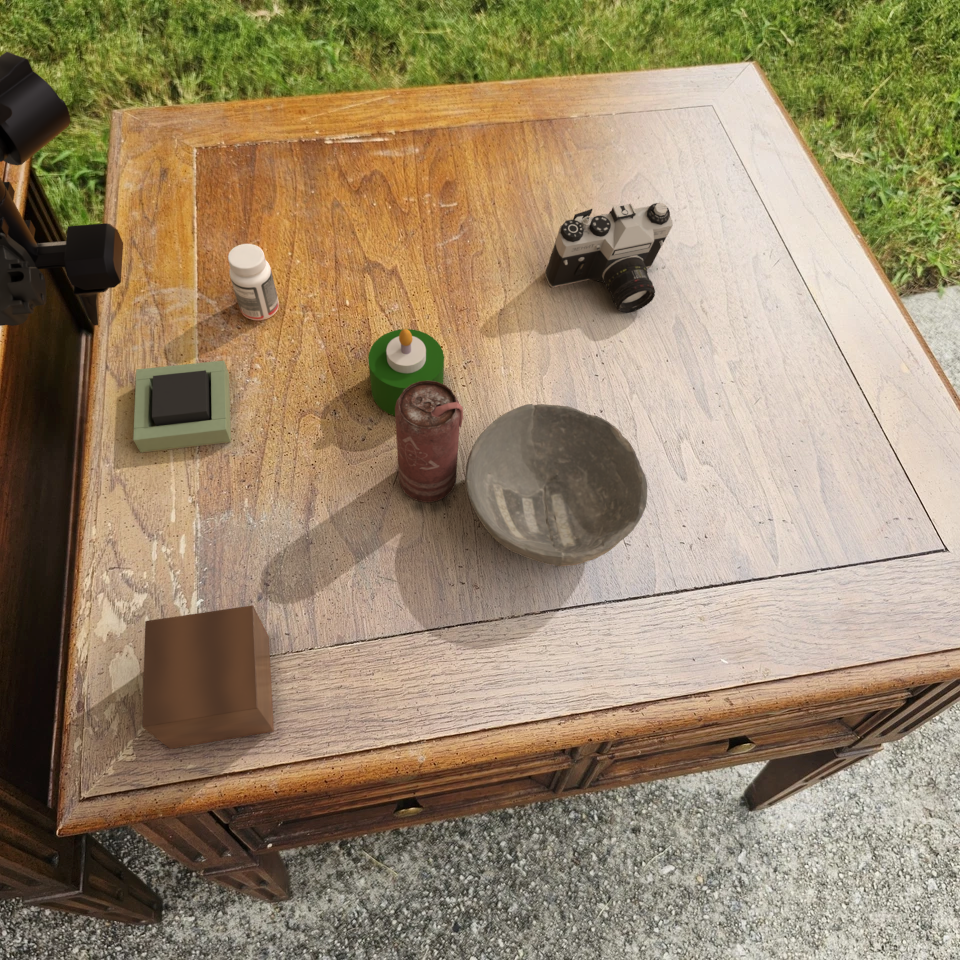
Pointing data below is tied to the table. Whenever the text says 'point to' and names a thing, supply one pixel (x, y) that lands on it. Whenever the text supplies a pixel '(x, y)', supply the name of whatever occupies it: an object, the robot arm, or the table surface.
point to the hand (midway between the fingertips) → (47, 326)
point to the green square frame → (182, 433)
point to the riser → (207, 677)
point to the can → (427, 440)
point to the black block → (181, 398)
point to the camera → (612, 252)
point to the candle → (402, 364)
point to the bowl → (555, 484)
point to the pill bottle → (253, 282)
